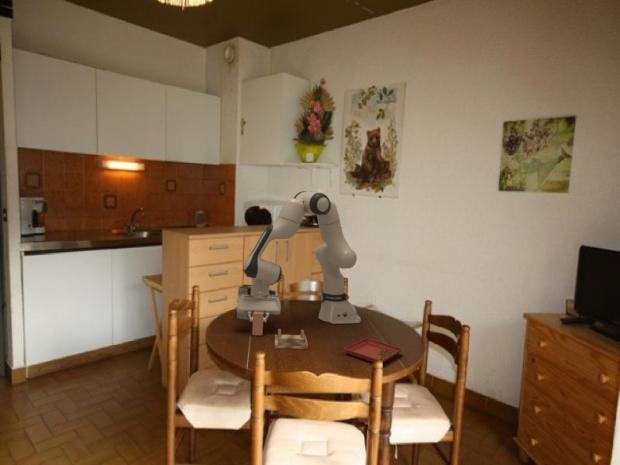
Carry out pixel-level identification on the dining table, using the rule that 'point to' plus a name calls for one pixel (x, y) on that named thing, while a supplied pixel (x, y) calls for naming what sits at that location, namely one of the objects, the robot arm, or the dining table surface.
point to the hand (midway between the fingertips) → (258, 321)
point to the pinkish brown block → (257, 323)
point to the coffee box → (245, 291)
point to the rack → (291, 341)
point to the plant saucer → (371, 349)
